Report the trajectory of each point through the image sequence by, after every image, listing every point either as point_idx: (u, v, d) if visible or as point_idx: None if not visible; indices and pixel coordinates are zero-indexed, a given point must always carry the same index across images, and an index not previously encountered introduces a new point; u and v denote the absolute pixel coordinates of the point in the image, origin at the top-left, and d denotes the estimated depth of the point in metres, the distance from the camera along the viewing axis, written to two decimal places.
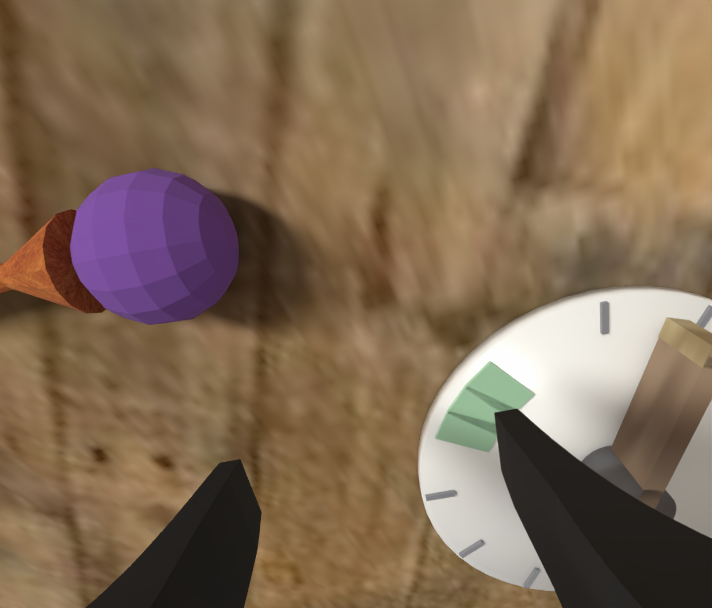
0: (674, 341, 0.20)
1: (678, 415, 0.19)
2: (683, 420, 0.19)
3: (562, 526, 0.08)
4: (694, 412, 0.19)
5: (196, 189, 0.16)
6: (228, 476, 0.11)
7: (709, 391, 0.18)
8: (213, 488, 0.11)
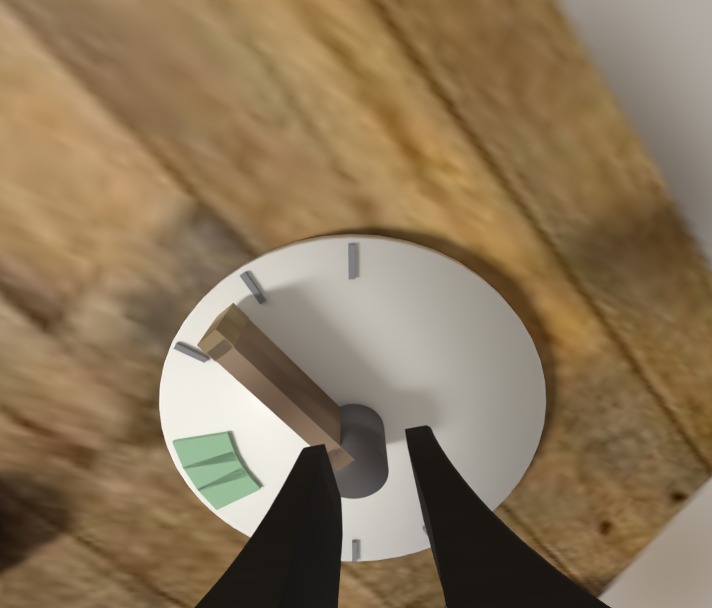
0: None
1: (257, 398, 0.19)
2: (265, 398, 0.19)
3: None
4: (263, 387, 0.19)
5: None
6: (319, 459, 0.11)
7: (247, 367, 0.18)
8: (307, 471, 0.11)
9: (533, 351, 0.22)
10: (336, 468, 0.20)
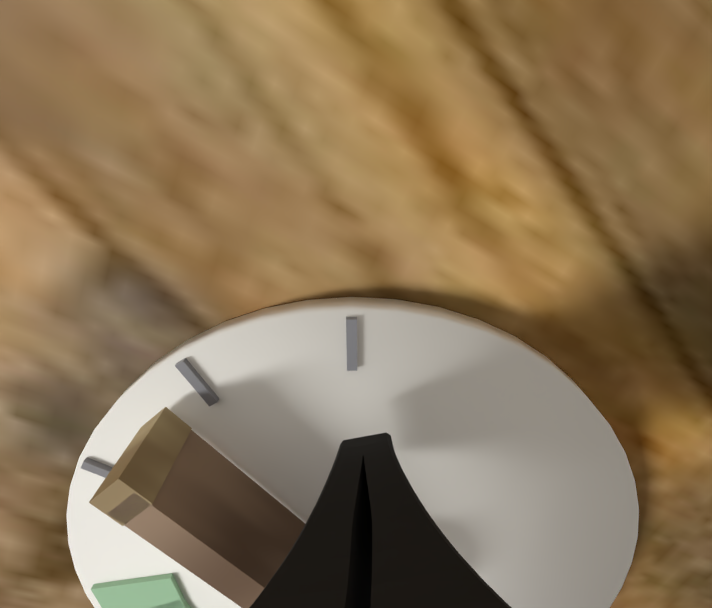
0: None
1: (198, 574, 0.12)
2: (210, 576, 0.11)
3: None
4: (206, 561, 0.11)
5: None
6: (362, 452, 0.11)
7: (178, 533, 0.11)
8: (352, 463, 0.11)
9: (625, 468, 0.14)
10: None
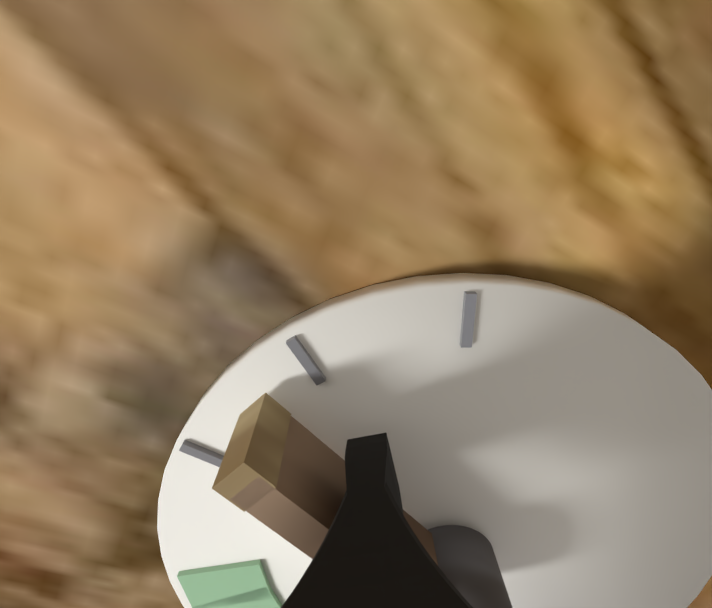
0: None
1: None
2: None
3: None
4: None
5: None
6: (386, 448, 0.11)
7: (299, 518, 0.11)
8: (376, 459, 0.11)
9: None
10: None
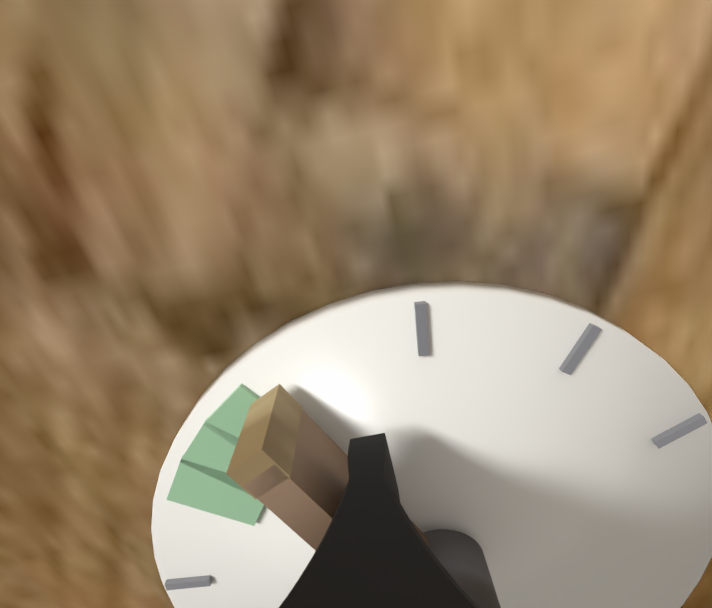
0: None
1: None
2: None
3: None
4: None
5: None
6: (385, 448, 0.11)
7: (309, 509, 0.11)
8: (375, 459, 0.11)
9: None
10: None
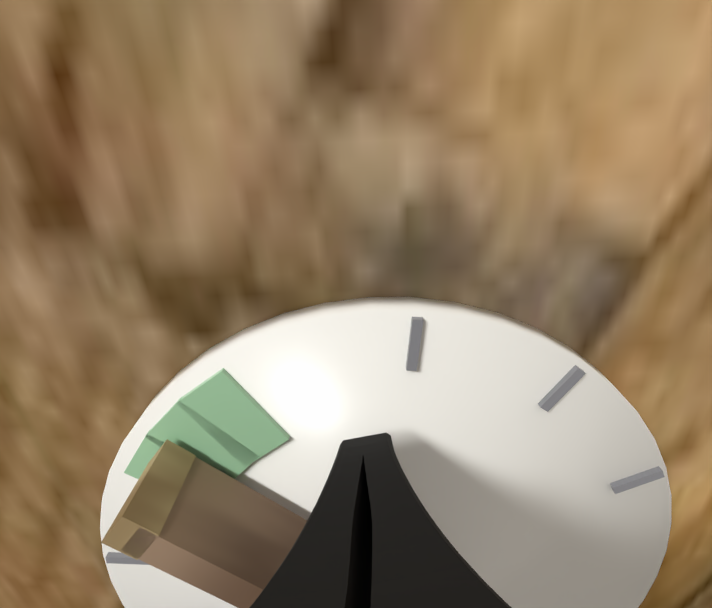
0: None
1: (219, 596, 0.12)
2: (230, 596, 0.12)
3: None
4: (223, 582, 0.12)
5: None
6: (362, 452, 0.11)
7: (190, 560, 0.11)
8: (352, 463, 0.11)
9: None
10: None
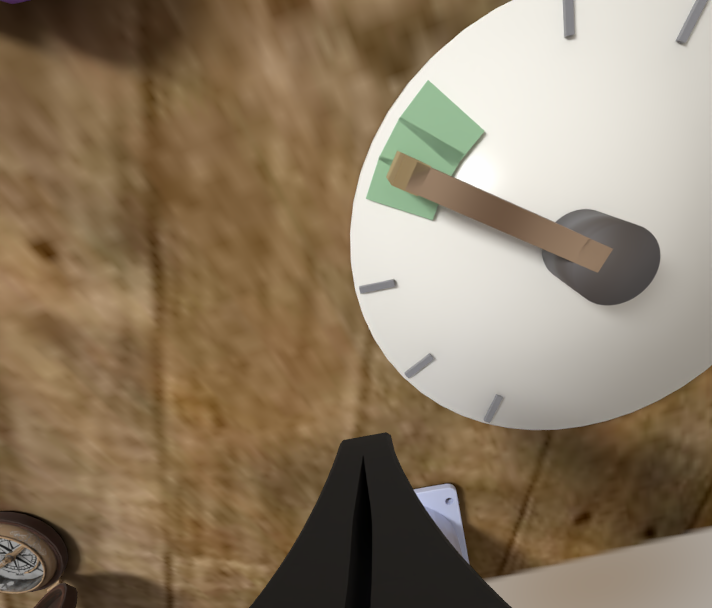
0: None
1: (477, 220, 0.16)
2: (485, 216, 0.16)
3: None
4: (479, 203, 0.16)
5: None
6: (362, 452, 0.11)
7: (454, 186, 0.16)
8: (352, 463, 0.11)
9: None
10: (595, 271, 0.17)
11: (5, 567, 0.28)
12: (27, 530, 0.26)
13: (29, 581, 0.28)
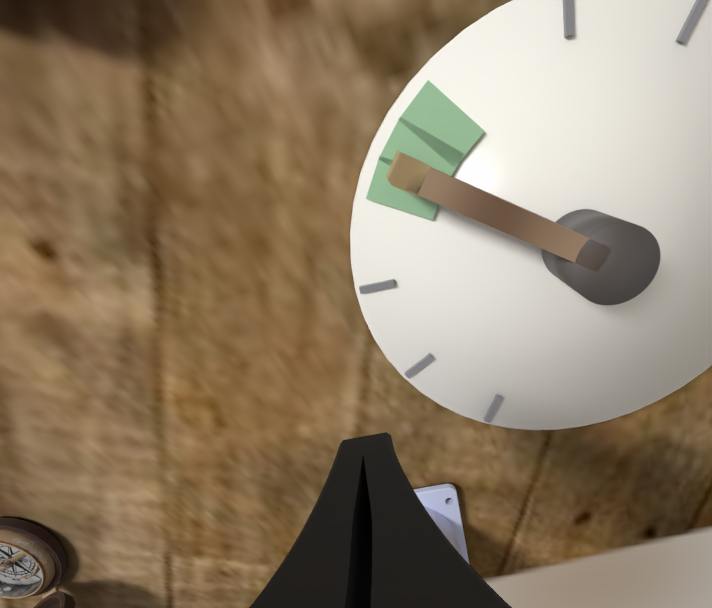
0: None
1: (477, 220, 0.16)
2: (485, 216, 0.16)
3: None
4: (479, 203, 0.16)
5: None
6: (362, 452, 0.11)
7: (454, 186, 0.16)
8: (352, 463, 0.11)
9: None
10: (595, 271, 0.17)
11: (2, 571, 0.28)
12: (30, 538, 0.26)
13: (25, 586, 0.28)
